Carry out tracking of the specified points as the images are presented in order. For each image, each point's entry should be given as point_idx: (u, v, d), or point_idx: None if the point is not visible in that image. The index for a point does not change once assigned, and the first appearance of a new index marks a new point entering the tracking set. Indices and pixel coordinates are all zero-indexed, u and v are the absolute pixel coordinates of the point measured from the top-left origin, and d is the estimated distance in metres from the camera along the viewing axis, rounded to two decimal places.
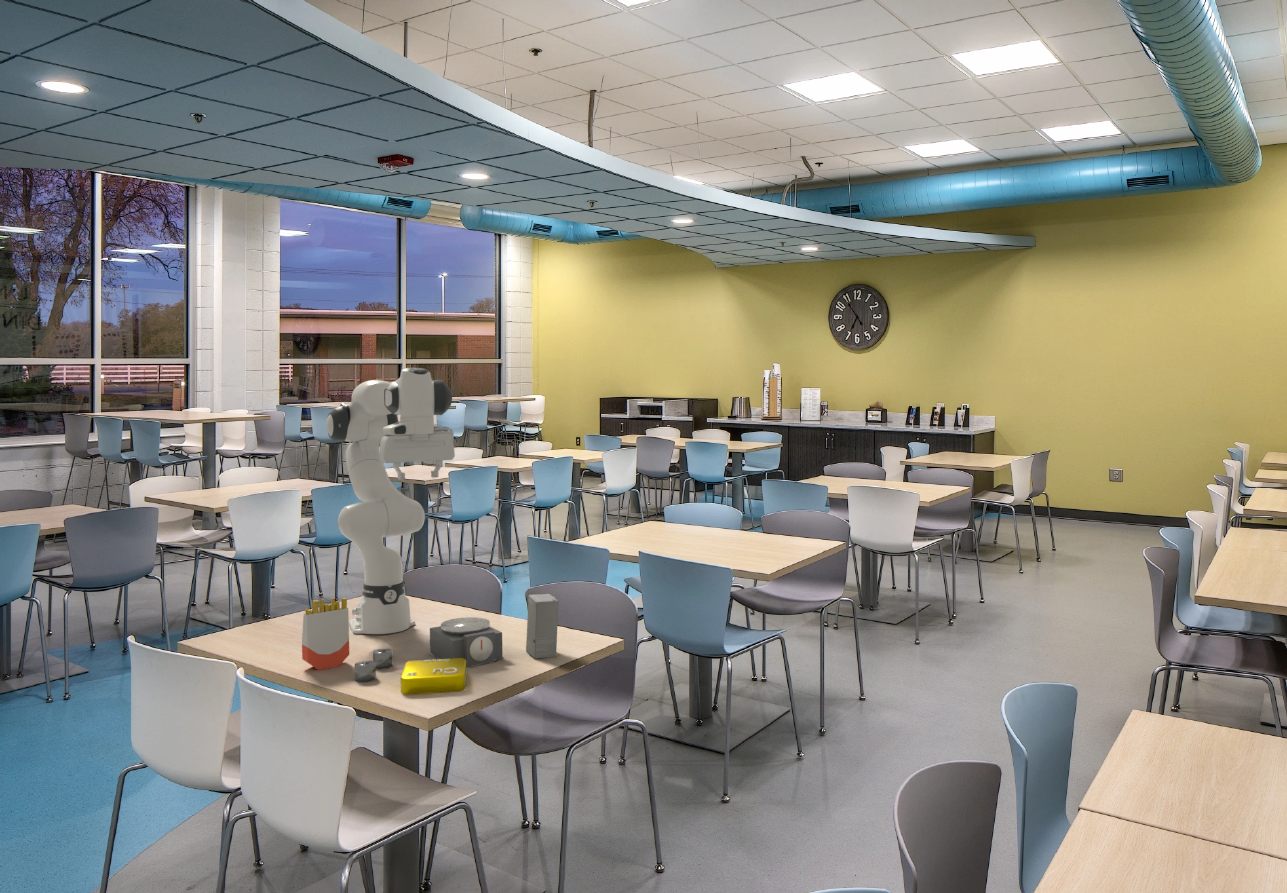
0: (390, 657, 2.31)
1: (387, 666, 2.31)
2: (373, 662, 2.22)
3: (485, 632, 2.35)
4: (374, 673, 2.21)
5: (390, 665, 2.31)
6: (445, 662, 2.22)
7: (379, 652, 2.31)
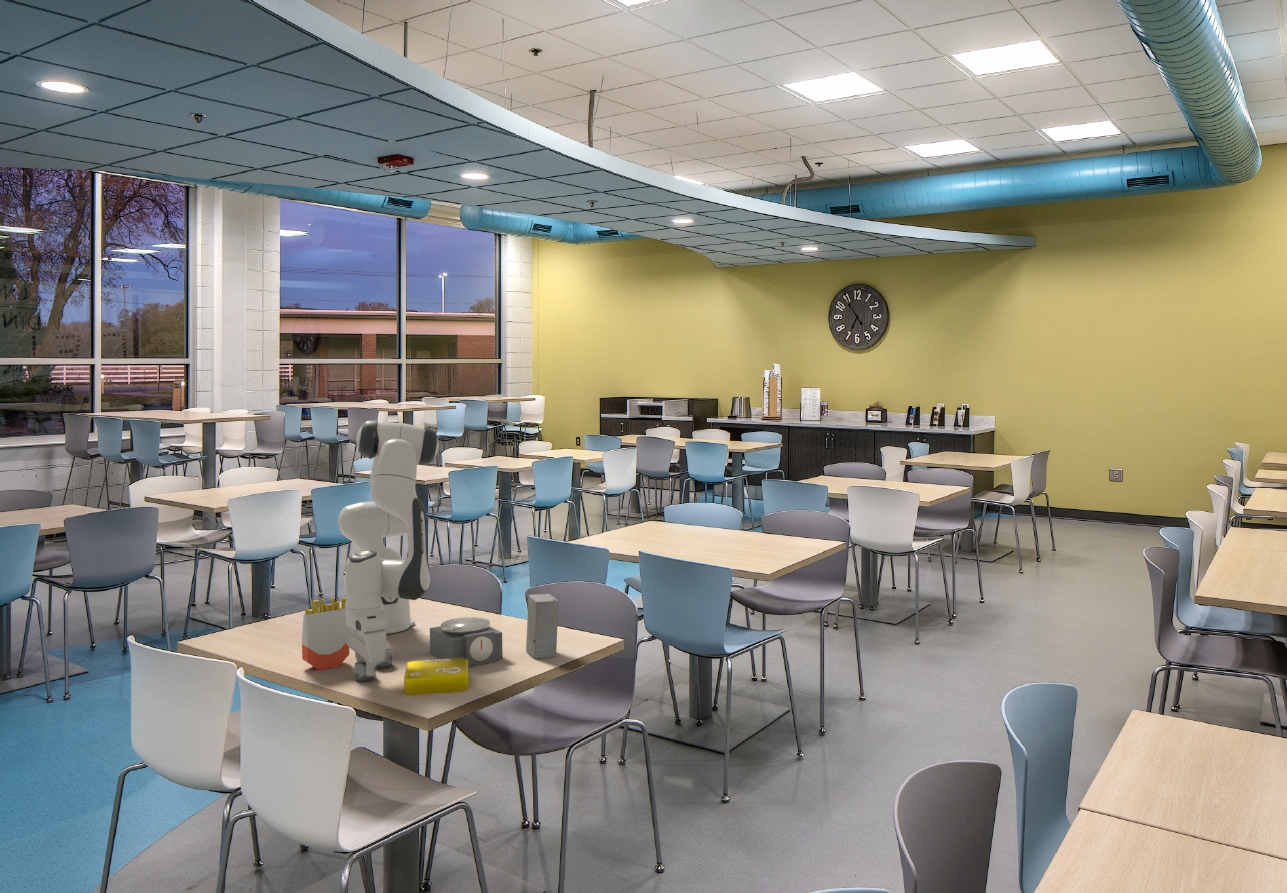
0: (390, 657, 2.31)
1: (387, 666, 2.31)
2: None
3: (485, 632, 2.35)
4: (374, 673, 2.21)
5: (390, 665, 2.31)
6: (447, 662, 2.22)
7: None
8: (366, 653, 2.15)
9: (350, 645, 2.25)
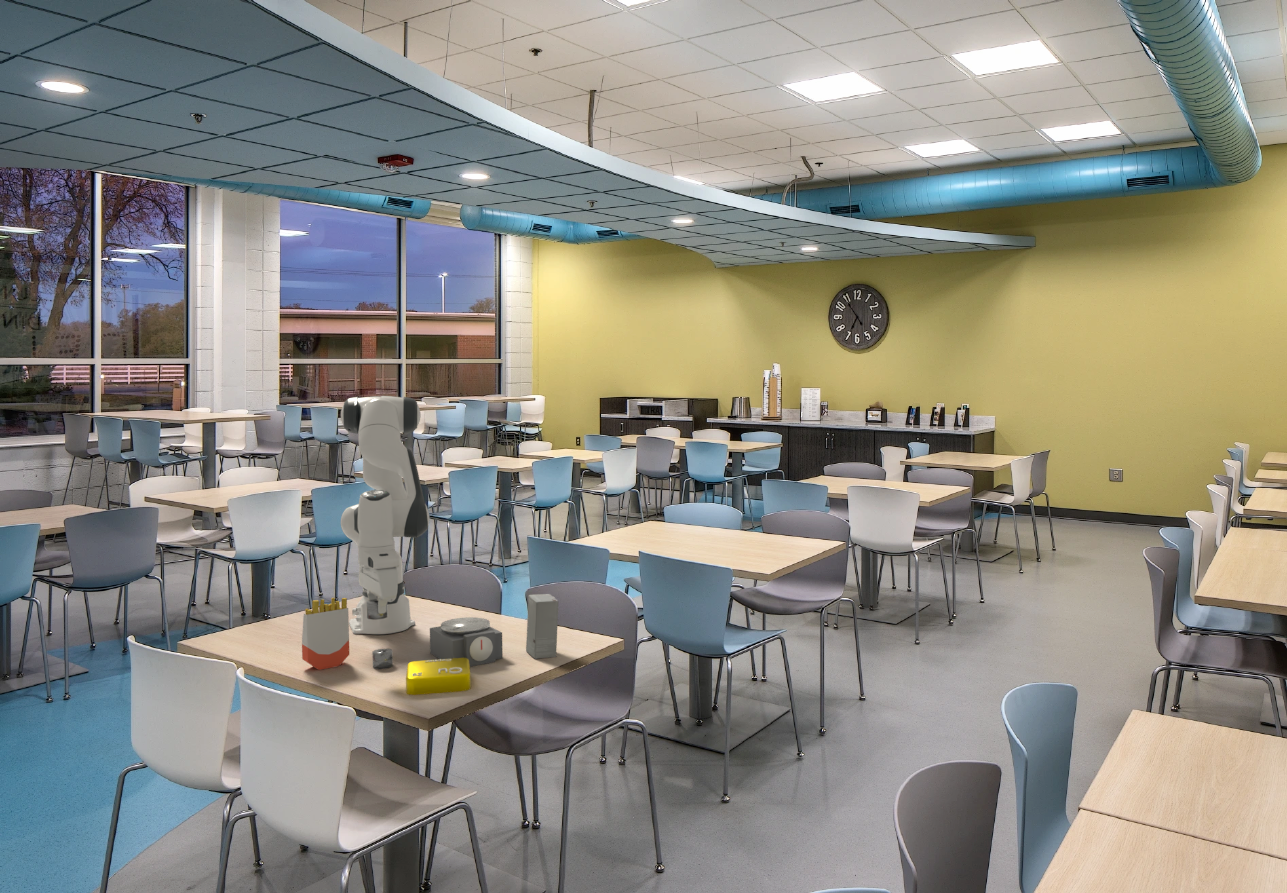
0: (390, 657, 2.31)
1: (387, 666, 2.31)
2: None
3: (485, 632, 2.35)
4: (386, 611, 2.23)
5: (390, 665, 2.31)
6: (448, 662, 2.22)
7: (379, 652, 2.31)
8: (378, 590, 2.17)
9: (362, 584, 2.27)
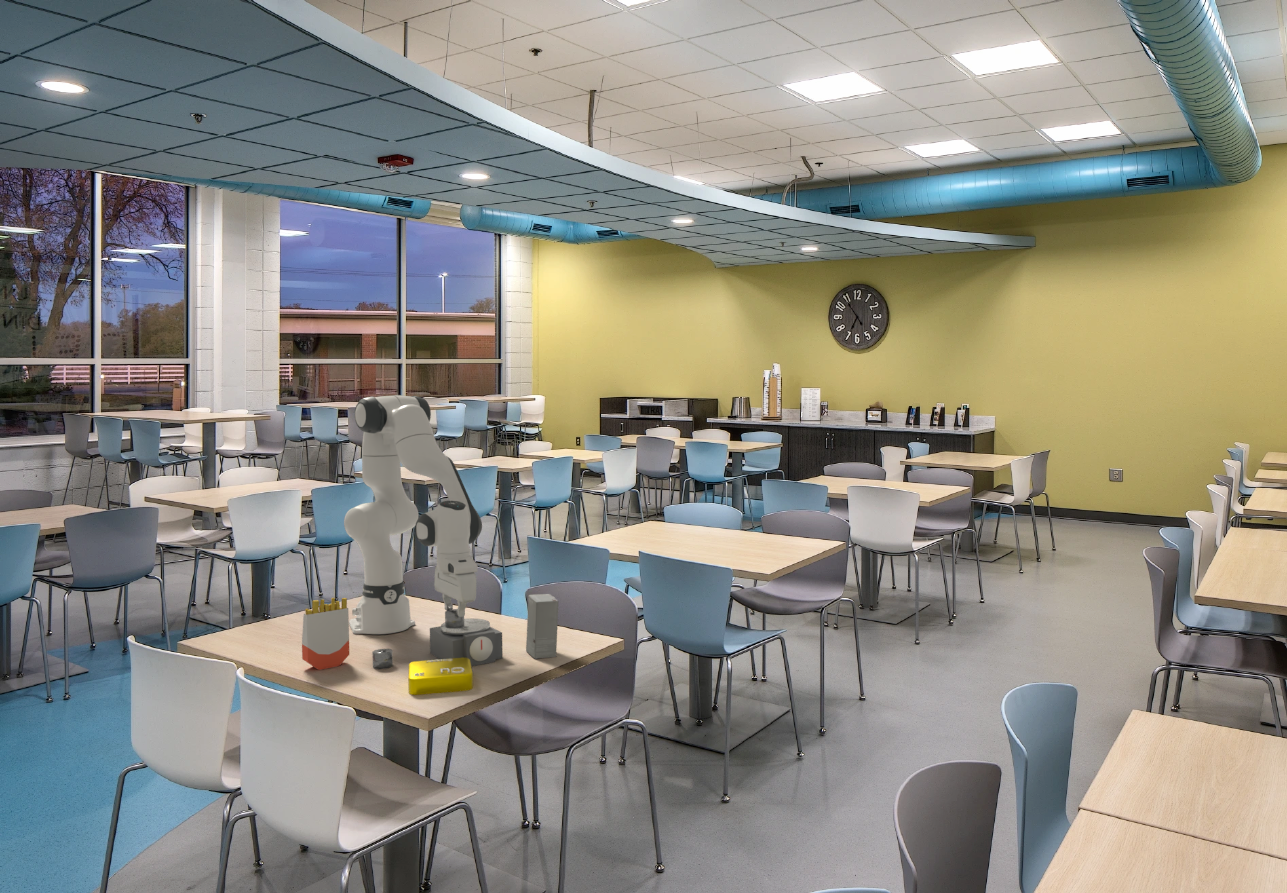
0: (390, 657, 2.31)
1: (387, 666, 2.31)
2: None
3: (485, 632, 2.35)
4: (463, 620, 2.39)
5: (390, 665, 2.31)
6: (449, 662, 2.22)
7: (379, 652, 2.31)
8: (458, 594, 2.32)
9: (439, 589, 2.42)
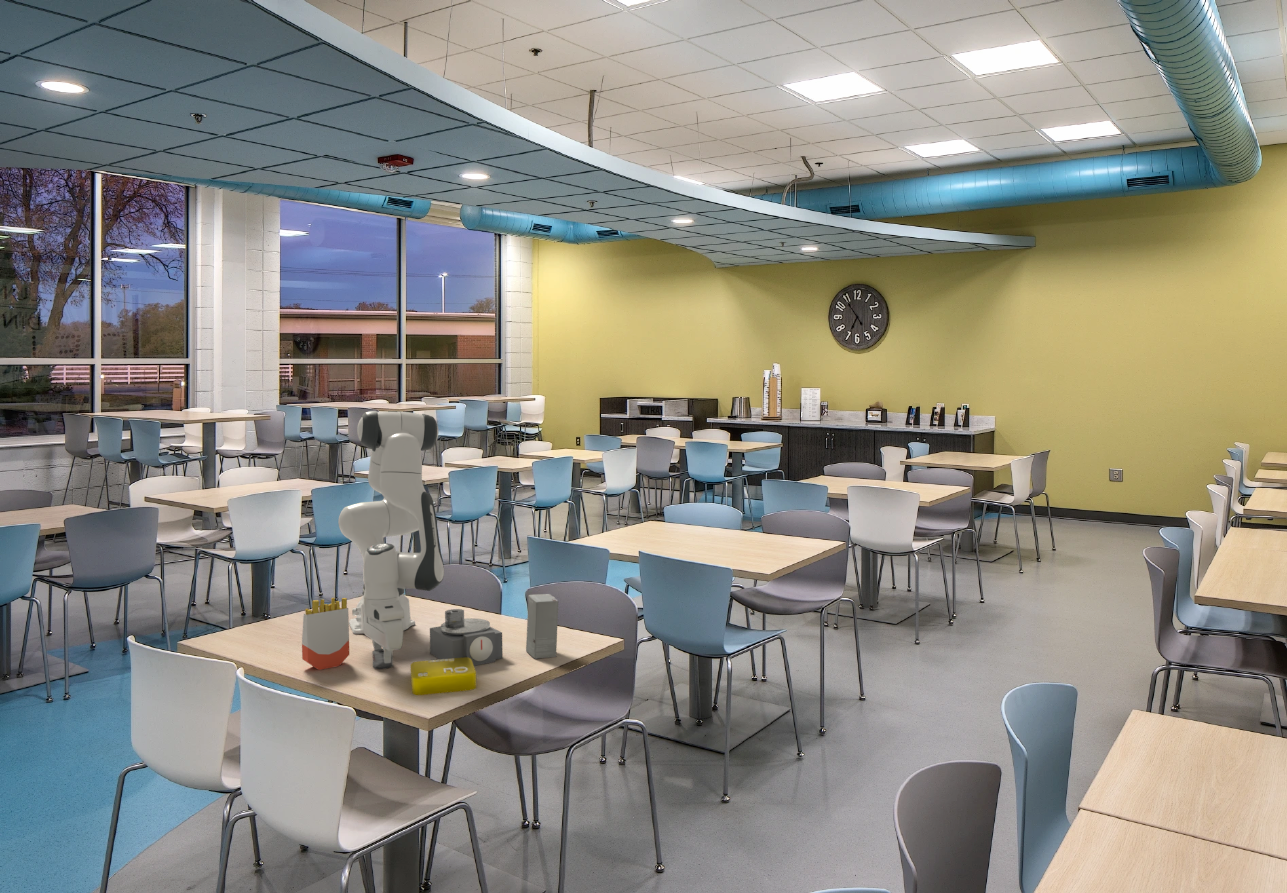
0: None
1: (387, 666, 2.31)
2: (461, 610, 2.40)
3: (485, 632, 2.35)
4: (463, 620, 2.39)
5: (390, 665, 2.31)
6: (451, 662, 2.22)
7: (379, 651, 2.31)
8: (384, 641, 2.25)
9: (368, 634, 2.36)
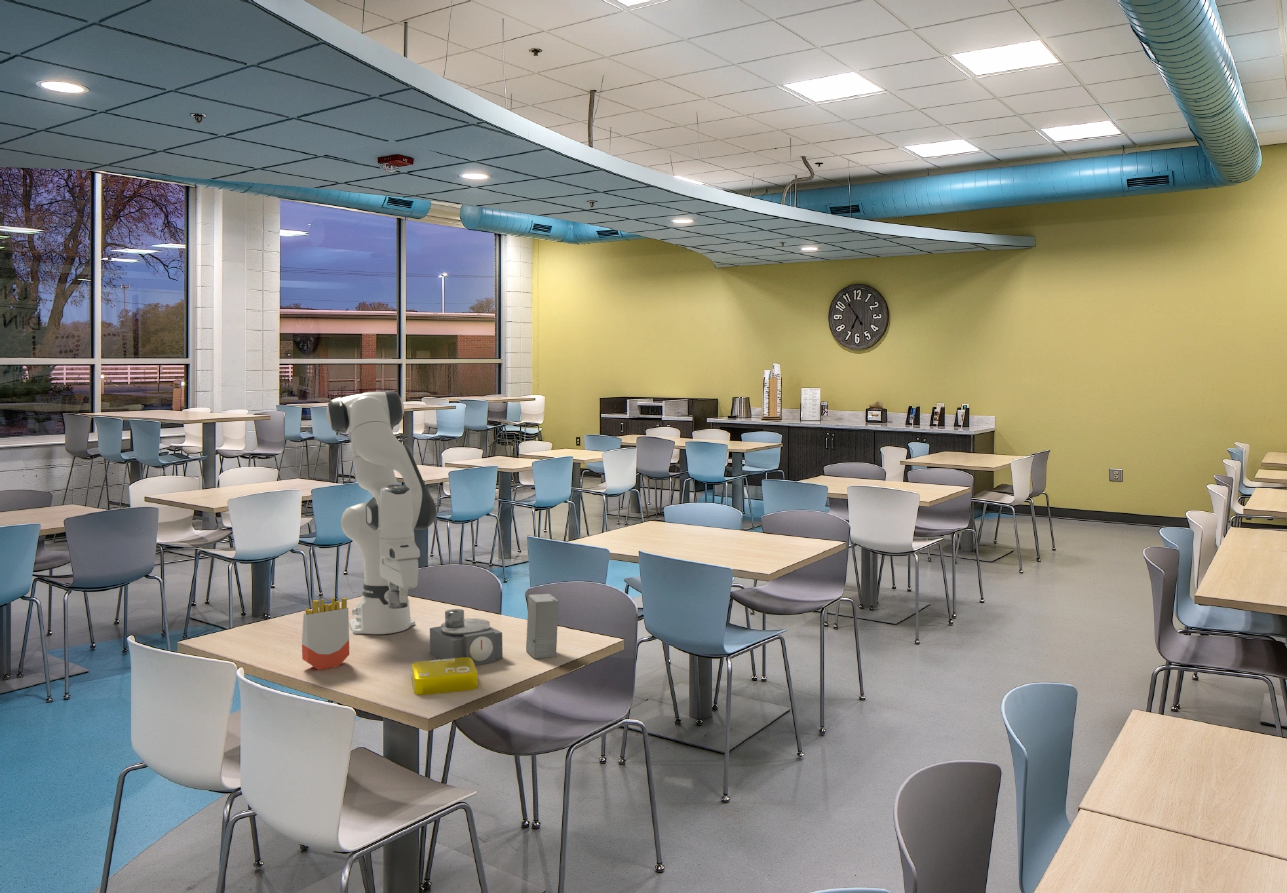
0: None
1: (403, 605, 2.32)
2: (461, 610, 2.40)
3: (485, 632, 2.35)
4: (463, 620, 2.39)
5: (406, 605, 2.32)
6: (452, 662, 2.22)
7: (395, 591, 2.33)
8: (399, 580, 2.26)
9: (383, 575, 2.37)
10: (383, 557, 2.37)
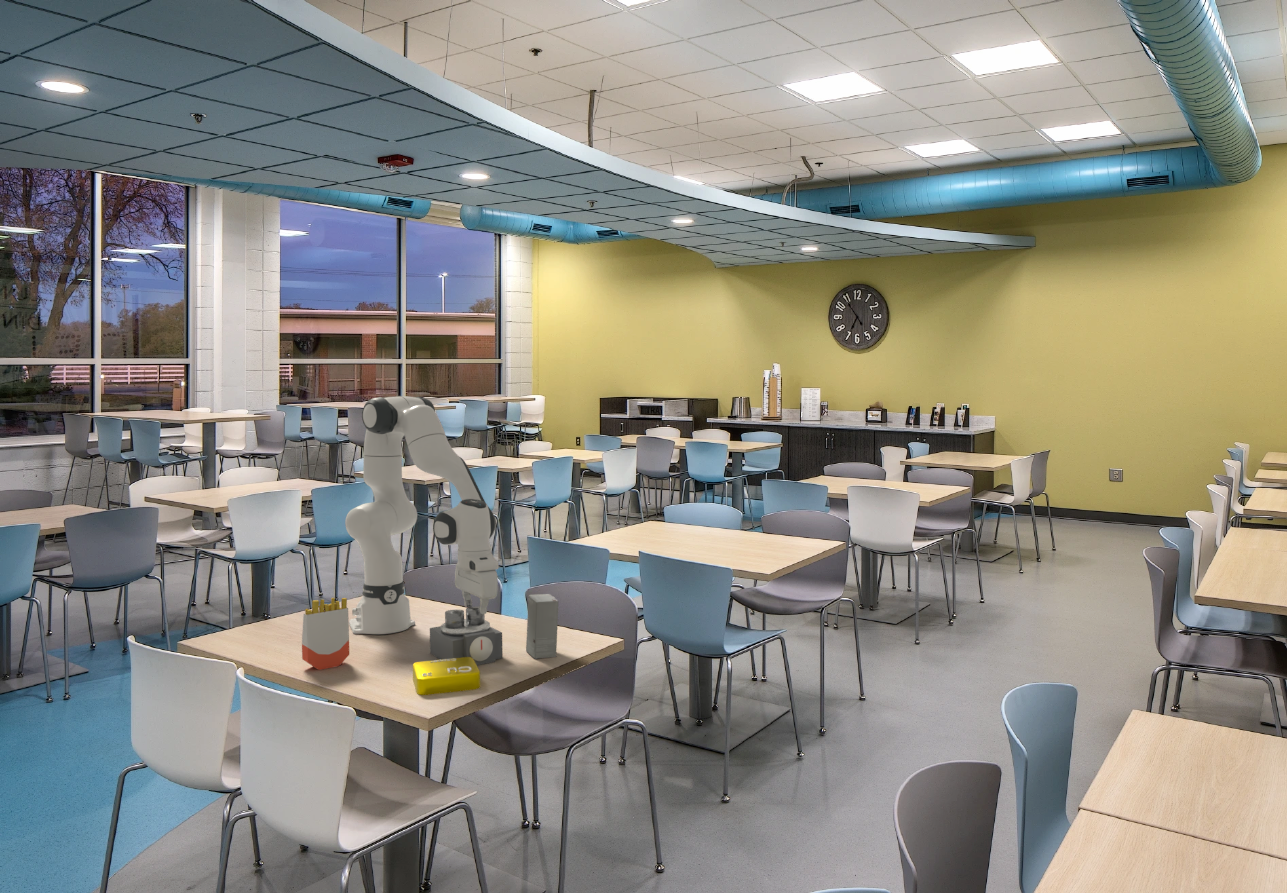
0: (483, 614, 2.42)
1: (480, 622, 2.41)
2: (461, 611, 2.40)
3: (485, 632, 2.35)
4: (463, 620, 2.39)
5: (483, 621, 2.42)
6: (454, 661, 2.22)
7: (472, 609, 2.42)
8: (479, 591, 2.35)
9: (460, 586, 2.46)
10: (459, 569, 2.46)
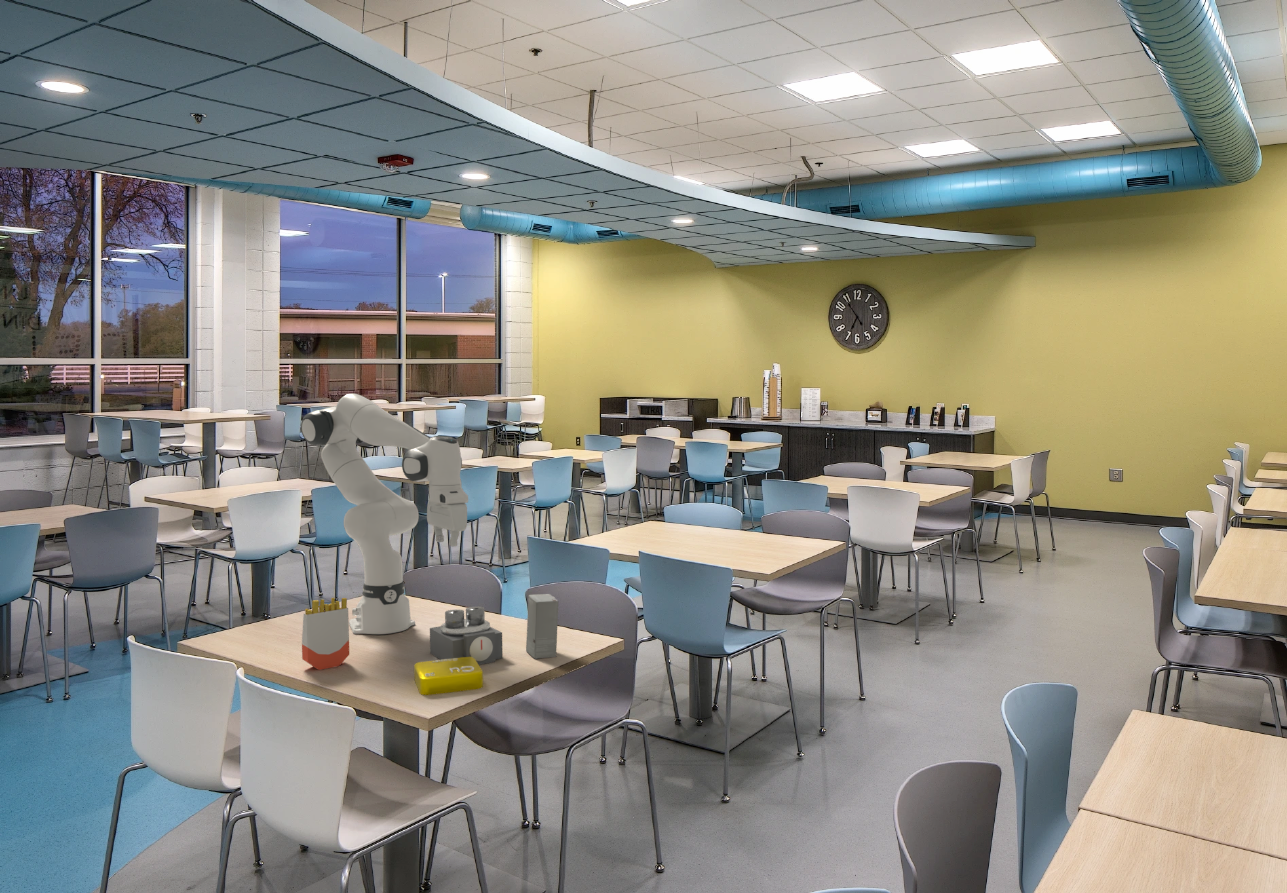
0: (483, 614, 2.42)
1: (480, 622, 2.41)
2: (461, 611, 2.40)
3: (485, 632, 2.35)
4: (463, 620, 2.39)
5: (483, 621, 2.42)
6: (455, 661, 2.23)
7: (472, 609, 2.42)
8: (449, 523, 2.41)
9: (431, 522, 2.52)
10: (431, 504, 2.52)
